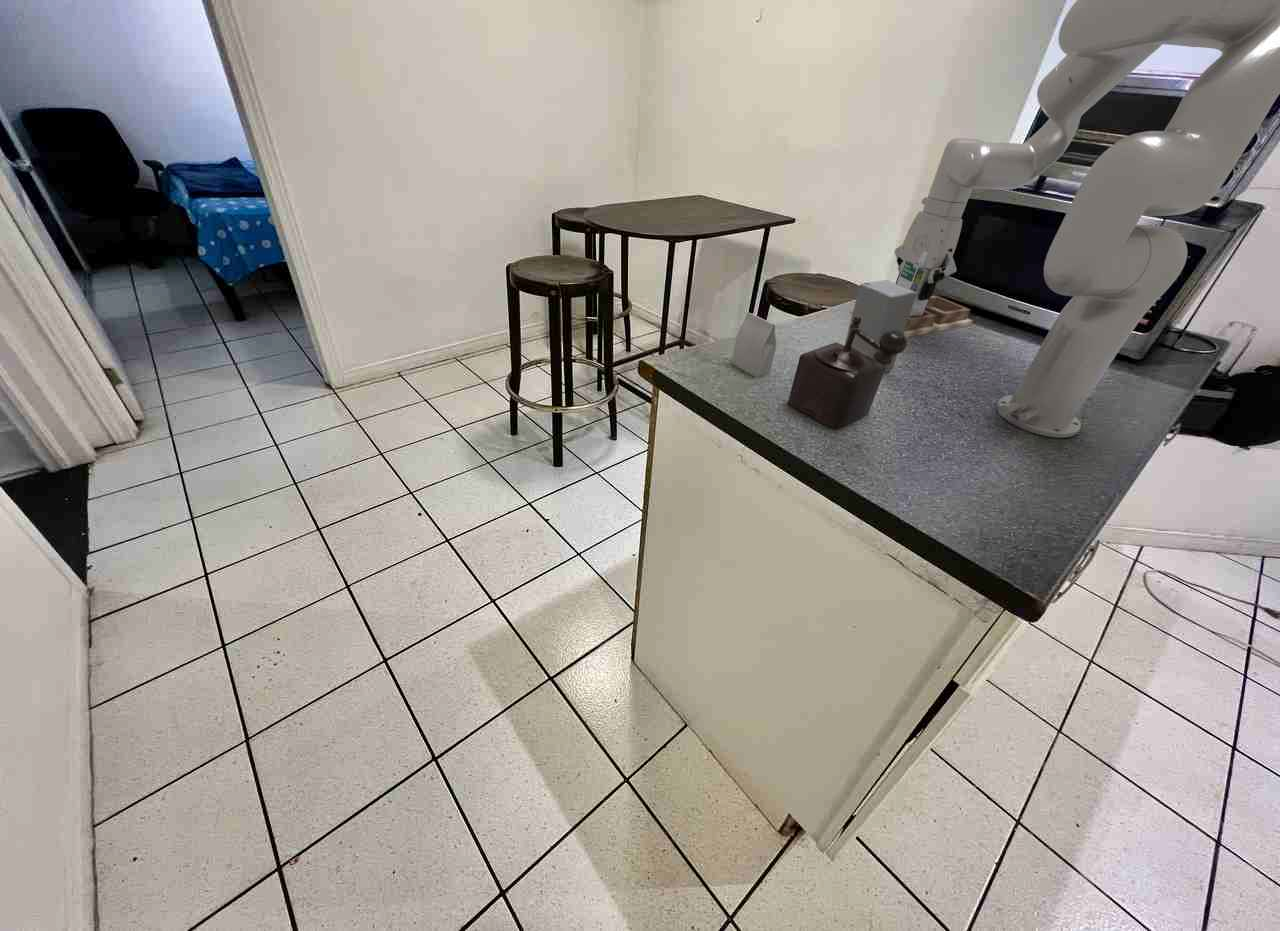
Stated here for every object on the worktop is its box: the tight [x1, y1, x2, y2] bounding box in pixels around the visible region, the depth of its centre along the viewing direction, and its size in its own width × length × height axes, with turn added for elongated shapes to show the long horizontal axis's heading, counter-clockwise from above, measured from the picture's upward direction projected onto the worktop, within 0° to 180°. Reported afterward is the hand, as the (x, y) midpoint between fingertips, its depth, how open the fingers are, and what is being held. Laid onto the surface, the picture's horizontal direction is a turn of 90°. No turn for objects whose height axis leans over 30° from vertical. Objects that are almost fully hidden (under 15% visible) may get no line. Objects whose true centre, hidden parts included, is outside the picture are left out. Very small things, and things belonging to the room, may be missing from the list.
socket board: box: [850, 295, 974, 338], centre depth 127 cm, size 24×16×4 cm, turn 117°
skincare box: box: [844, 279, 917, 373], centre depth 101 cm, size 8×7×16 cm
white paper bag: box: [731, 311, 777, 378], centre depth 98 cm, size 4×7×10 cm, turn 35°
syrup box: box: [895, 251, 929, 316], centre depth 118 cm, size 6×6×14 cm
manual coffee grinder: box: [787, 316, 908, 430], centre depth 84 cm, size 16×11×18 cm
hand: (911, 293), depth 119 cm, fingers closed on syrup box, 6 cm apart
